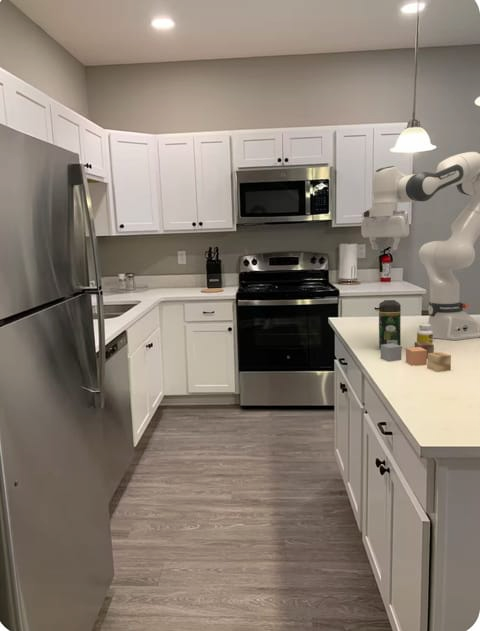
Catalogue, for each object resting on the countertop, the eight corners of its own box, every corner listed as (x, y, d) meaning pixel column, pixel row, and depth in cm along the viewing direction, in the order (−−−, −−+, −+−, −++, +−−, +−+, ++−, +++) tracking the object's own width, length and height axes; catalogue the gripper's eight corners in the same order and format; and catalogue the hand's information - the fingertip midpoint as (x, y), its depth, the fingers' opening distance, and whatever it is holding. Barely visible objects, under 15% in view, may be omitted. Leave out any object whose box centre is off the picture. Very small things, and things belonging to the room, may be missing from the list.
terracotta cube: (419, 361, 167) (420, 346, 166) (426, 364, 162) (426, 350, 161) (405, 362, 167) (406, 347, 166) (412, 365, 162) (412, 351, 161)
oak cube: (440, 366, 160) (440, 351, 159) (450, 370, 155) (451, 355, 154) (427, 368, 159) (427, 353, 158) (437, 372, 154) (437, 356, 153)
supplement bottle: (430, 353, 176) (431, 326, 175) (415, 351, 179) (415, 325, 178) (433, 349, 181) (434, 323, 179) (418, 348, 184) (419, 322, 182)
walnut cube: (428, 355, 174) (429, 341, 173) (433, 358, 169) (433, 344, 168) (414, 355, 175) (414, 341, 174) (418, 359, 170) (419, 345, 169)
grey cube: (392, 356, 174) (392, 343, 173) (401, 360, 170) (401, 346, 169) (380, 358, 173) (380, 344, 172) (389, 361, 168) (389, 347, 167)
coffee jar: (378, 345, 191) (378, 298, 188) (399, 345, 189) (400, 298, 185) (378, 351, 182) (378, 302, 178) (400, 352, 180) (401, 302, 176)
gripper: (413, 210, 172) (412, 249, 175) (370, 213, 189) (370, 248, 192) (401, 210, 169) (401, 250, 171) (358, 213, 186) (358, 249, 188)
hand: (384, 249), depth 182 cm, fingers open, 8 cm apart
